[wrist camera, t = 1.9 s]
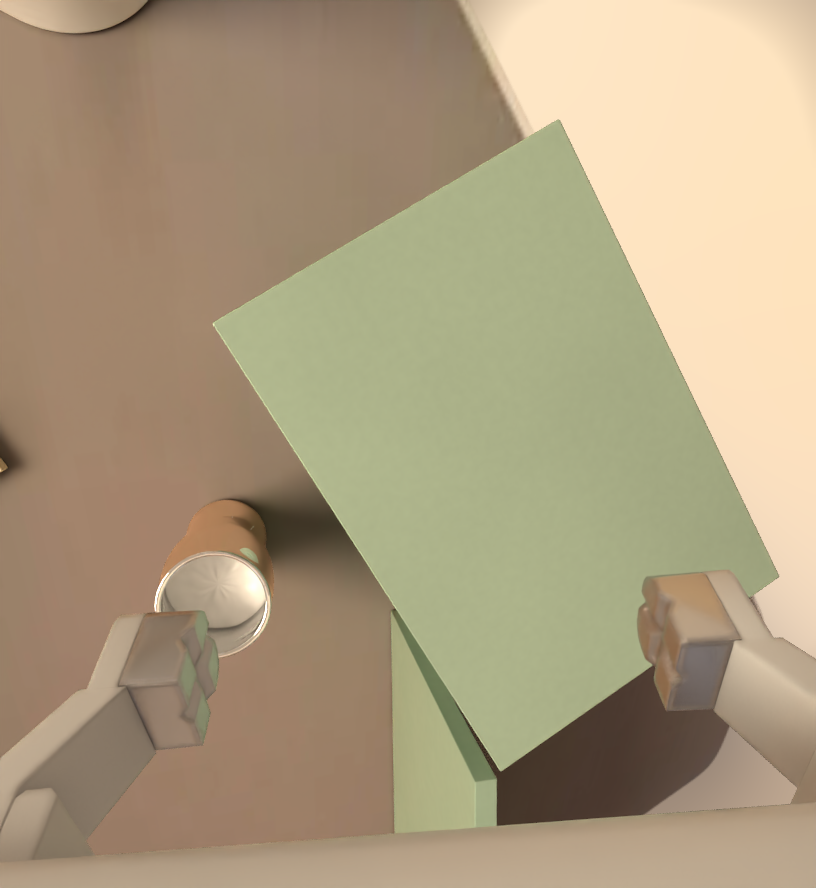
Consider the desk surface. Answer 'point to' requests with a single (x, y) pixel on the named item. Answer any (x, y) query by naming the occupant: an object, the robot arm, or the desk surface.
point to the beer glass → (221, 575)
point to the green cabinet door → (433, 748)
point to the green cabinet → (501, 436)
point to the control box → (2, 466)
